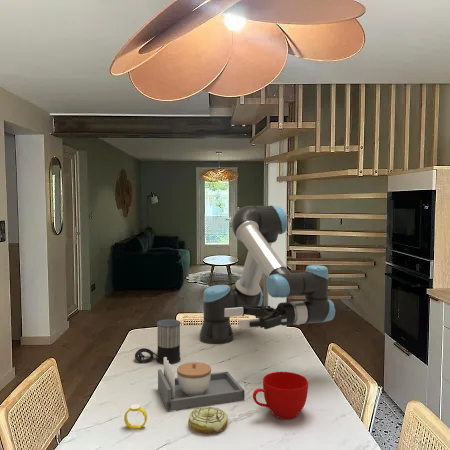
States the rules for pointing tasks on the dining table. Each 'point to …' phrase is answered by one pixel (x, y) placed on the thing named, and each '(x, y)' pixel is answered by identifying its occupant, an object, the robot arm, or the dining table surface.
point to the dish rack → (215, 394)
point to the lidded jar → (194, 378)
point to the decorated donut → (208, 419)
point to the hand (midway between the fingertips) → (231, 318)
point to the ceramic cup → (284, 394)
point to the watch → (135, 408)
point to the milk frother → (165, 343)
